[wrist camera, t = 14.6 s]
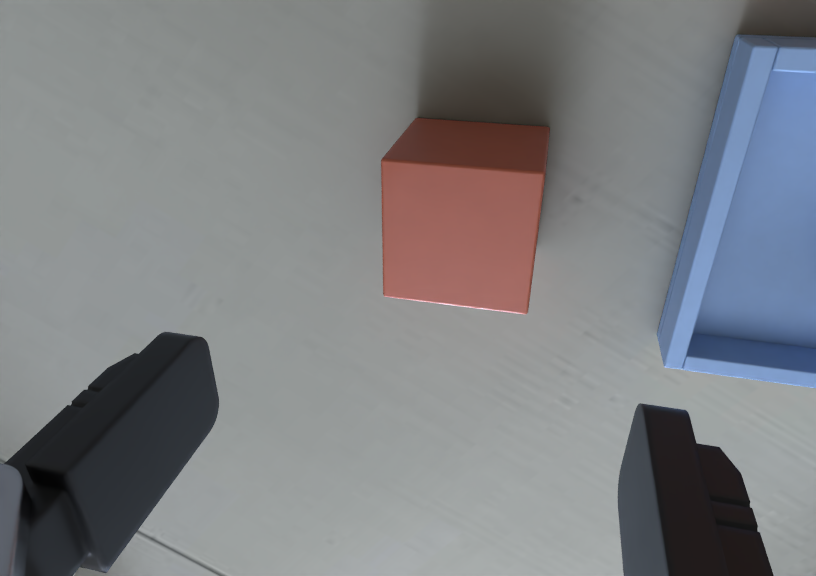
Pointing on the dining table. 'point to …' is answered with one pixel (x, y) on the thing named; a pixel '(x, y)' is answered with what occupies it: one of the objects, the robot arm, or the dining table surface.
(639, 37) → the dining table surface
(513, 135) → the terracotta block
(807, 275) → the blue tray
